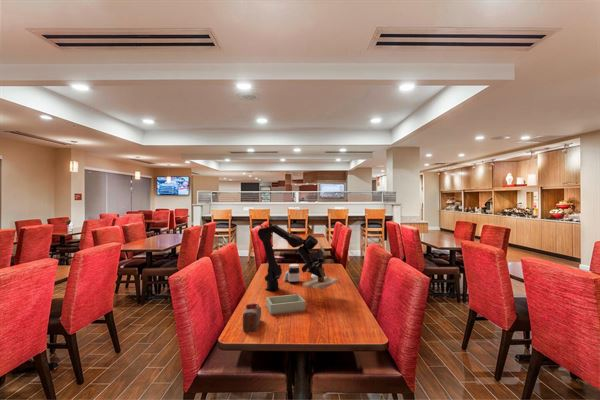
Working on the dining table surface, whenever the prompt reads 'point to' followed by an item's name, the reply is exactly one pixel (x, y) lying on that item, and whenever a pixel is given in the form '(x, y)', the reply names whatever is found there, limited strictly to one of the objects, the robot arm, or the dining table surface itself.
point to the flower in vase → (318, 258)
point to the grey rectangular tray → (285, 304)
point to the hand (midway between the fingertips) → (323, 276)
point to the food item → (251, 317)
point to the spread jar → (293, 274)
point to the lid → (320, 281)
